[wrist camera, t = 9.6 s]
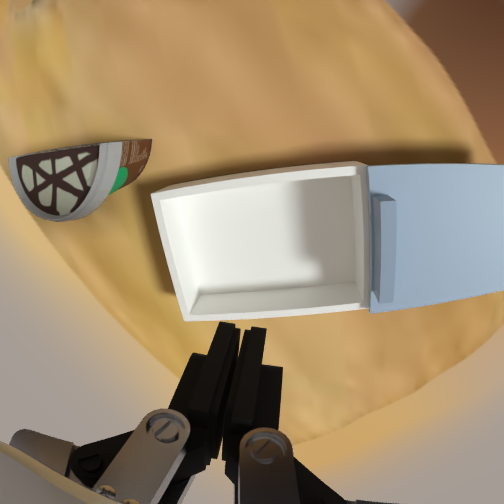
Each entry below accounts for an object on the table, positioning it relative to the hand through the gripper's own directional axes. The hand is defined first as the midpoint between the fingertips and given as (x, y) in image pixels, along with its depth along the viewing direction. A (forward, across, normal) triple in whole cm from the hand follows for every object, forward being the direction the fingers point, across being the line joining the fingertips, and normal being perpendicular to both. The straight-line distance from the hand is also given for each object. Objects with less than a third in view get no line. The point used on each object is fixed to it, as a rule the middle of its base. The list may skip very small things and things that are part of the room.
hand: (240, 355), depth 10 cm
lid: (+14, -17, -3) cm, 22 cm away
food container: (+19, +17, -3) cm, 25 cm away
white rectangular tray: (+18, 0, +2) cm, 19 cm away
